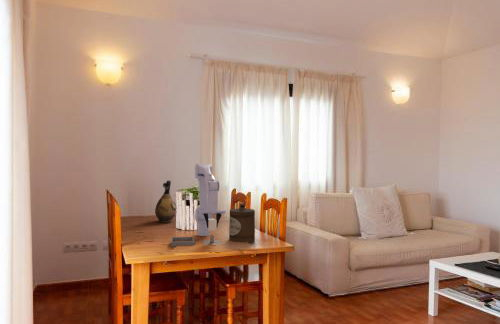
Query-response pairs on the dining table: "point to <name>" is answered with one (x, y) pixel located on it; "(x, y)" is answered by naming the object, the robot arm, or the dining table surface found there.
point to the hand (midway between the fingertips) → (212, 227)
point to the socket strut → (212, 225)
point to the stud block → (211, 241)
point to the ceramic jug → (166, 205)
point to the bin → (181, 240)
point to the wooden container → (242, 224)
